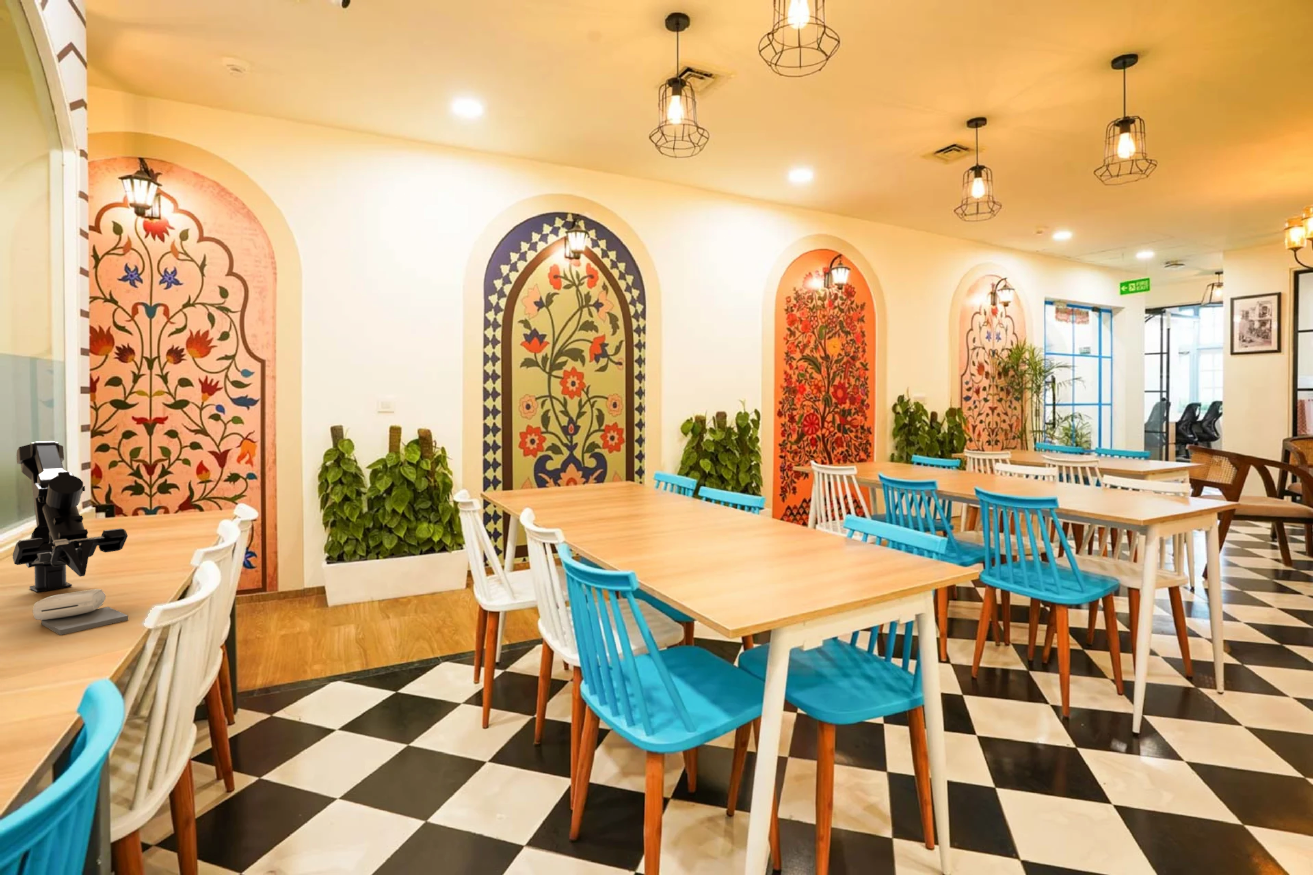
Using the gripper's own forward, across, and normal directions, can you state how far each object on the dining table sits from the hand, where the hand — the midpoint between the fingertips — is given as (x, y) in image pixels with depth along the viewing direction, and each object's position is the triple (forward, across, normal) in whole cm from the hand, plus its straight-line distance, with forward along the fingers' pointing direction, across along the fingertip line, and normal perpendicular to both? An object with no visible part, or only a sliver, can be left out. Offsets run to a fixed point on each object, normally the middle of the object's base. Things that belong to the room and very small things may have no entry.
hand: (82, 575), depth 140 cm
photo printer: (+3, +1, -6) cm, 6 cm away
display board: (+13, +2, +2) cm, 13 cm away
